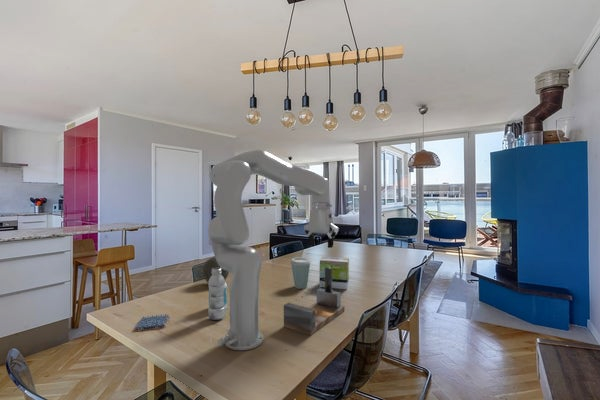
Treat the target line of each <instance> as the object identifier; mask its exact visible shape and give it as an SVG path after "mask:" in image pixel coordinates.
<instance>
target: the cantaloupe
mask: <svg viewBox="0 0 600 400" xmlns="http://www.w3.org/2000/svg"><path fill="white" fill-rule="evenodd" d="M216 267H219V268H221V267H220V266H219V265H218V263H217V261H216V258H215V256H214V257H213V256H212V257H211V258H208V259H207V260H206V262H204V265H203V268H202V274H203V275H202V276H203V278H204V280H205V281H206V282H207V283H208V282H209V279H210V277H211V276H212V268H216ZM221 271H222V273H221V275H222V276H223V277H224V279H225V281H226V280H227V278H228V276H229V273H230V272H229V271H226V270H224V269H222V268H221Z"/></svg>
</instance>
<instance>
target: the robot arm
mask: <svg viewBox="0 0 600 400" xmlns="http://www.w3.org/2000/svg"><path fill="white" fill-rule="evenodd" d="M251 175H259V176H261V177H262V178H263V177H264V178H266V179H267V180H271V181H272V182H274V183H276V184H279V185H283V186H290V187H293V188H294V191H295V192H296V193H297V195H300V196H311V209H310V213H309V218H308V219H309V220H308V223H307V224H305V225H303V229H304V232H305V233H306V236H307V237H308V246H309V247H310V246H313V245H315V236H314V235H315V234H325V235H326V236H328V238H327V248H328V249H330V248H333V247H334V239H335V237H336V236H337V235H338V232H339V230H340V228H339V226H336V225H335V224H334V219H333V217H334V216H333V212H332V209H331V208H332V204H331V203H330V181H329V179H328V178H326V177H324V176H323V175H321V174H320V173H318V172H316V171H315V170H311V169H309V168H306V167H302V166H298V165H296V164H291V163H288V162H287V161H285V160H283V159H281V158H279V157H277V156H276V155H274V154H272V153H270V152H268V151H266V150H264V149H254V150H249V151H244V152H242V153H240V154H237V155H235V156H232V157H230V158H228V159H225V160H223V161H220V162H218V163H216V164H215V165H213V167H212V168H211V169H210V172H209V178H210V181H211V183H212V184H213V185H214V186H216V189H215V192H214V196H213V205H214V209H215V215H216V216H215V217H213V218H212V219H211V221H210V222H209V224H208V228H207V233H208V239H209V243H210V245H211V248H212V249H211V250H212V252H213V255H214V257H215V258H216V261H217V263H218V265H219V266H220V267H221V268H222V269H224V270H226V271H229V273H232V278H231V281H230V284H229V329H228V330H227V331H226V333H227V334H225V336H223V337H222V338H219V339H218V340H217V344H218V346H219V347H222V346H223V345H225V346H226V347H227V348H229V349H231V350H234V351H247V350H253V349H254V348H258V347H259V346H260V345H262V343H263V342H264V334H263V333H262V332H261V331H260V327H259V326H260V323H259V322H260V320H259V318H260V316H259V315H260V314H259V312H260V311H259V309H260V305H259V303H260V302H259V301H260V300H259V298H260V296H259V292H260V291H259V286H260V285H259V283H260V275H261V274H260V273H261V268H262V257H261V255H260V253H259V251H258V250H256V248H254V247H250V246H247V245H244V244H245V243H246V242H247V241H248V240H249V238H250V229H249V224H248V220H247V217H246V215H245V211H244V206H243V202H242V196H243V193H244V190H245V187H246V186H247V184H248V183H249V181H250V179H251Z"/></svg>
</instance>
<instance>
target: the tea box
mask: <svg viewBox="0 0 600 400" xmlns="http://www.w3.org/2000/svg"><path fill="white" fill-rule="evenodd" d="M349 259H350V258H349V257H347V258H346V257H345V258H344V257H330V256H322V257H321V258H320V260H319V276H318V277H319V281H318V282H319V288H325V267H331V268H332V289H337V290H339V289H341V290H348V287H349V283H350V282H349V280H350V279H349V276H350V274H349V273H350V271H349V270H350V267H349V265H350V260H349Z"/></svg>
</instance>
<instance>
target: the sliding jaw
mask: <svg viewBox="0 0 600 400" xmlns="http://www.w3.org/2000/svg"><path fill="white" fill-rule="evenodd" d="M341 294H342V293H341V292H339V291H335V290H333V288H332V268H331V267H325V287H324V288H322V287H319V289H316V303H318V304H322V305H326V306H330V307H334V308H338V307H340V306H342V305H341V304H342V302H341V300H342V299H341Z"/></svg>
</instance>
